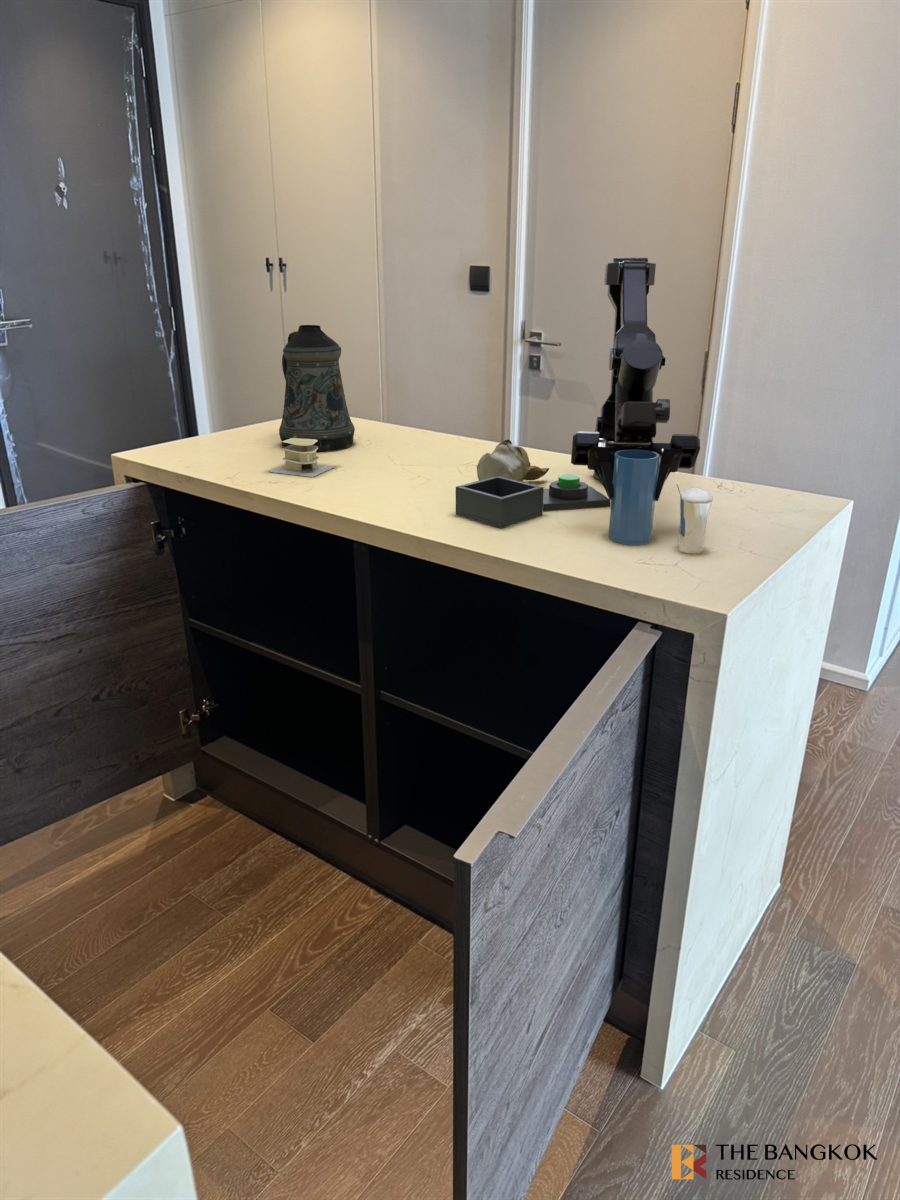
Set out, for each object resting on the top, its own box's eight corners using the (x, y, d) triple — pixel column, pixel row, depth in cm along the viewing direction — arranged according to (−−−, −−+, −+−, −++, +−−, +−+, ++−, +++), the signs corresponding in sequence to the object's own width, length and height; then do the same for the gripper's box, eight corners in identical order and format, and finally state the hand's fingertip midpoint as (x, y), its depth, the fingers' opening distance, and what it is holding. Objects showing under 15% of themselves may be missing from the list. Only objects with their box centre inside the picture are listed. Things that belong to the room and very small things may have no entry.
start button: (574, 483, 151) (575, 473, 150) (582, 489, 148) (582, 479, 147) (555, 484, 150) (555, 475, 149) (562, 490, 147) (563, 480, 146)
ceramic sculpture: (462, 440, 154) (506, 431, 166) (459, 487, 157) (503, 475, 169) (513, 448, 148) (554, 438, 160) (509, 497, 151) (550, 484, 163)
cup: (639, 530, 135) (647, 448, 130) (658, 543, 129) (667, 458, 124) (601, 533, 134) (608, 450, 129) (618, 546, 128) (626, 460, 123)
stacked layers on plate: (268, 472, 168) (266, 444, 166) (293, 462, 176) (291, 435, 174) (313, 477, 165) (311, 448, 162) (336, 466, 172) (334, 439, 170)
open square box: (497, 502, 149) (497, 475, 147) (542, 515, 142) (543, 487, 141) (455, 514, 142) (455, 486, 141) (501, 528, 136) (501, 499, 134)
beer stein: (329, 455, 181) (322, 331, 171) (253, 446, 188) (243, 327, 179) (369, 440, 195) (365, 324, 185) (297, 432, 202) (290, 321, 193)
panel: (590, 492, 155) (591, 476, 154) (610, 506, 147) (611, 489, 146) (526, 496, 153) (527, 480, 152) (543, 511, 145) (544, 493, 143)
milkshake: (664, 545, 128) (671, 480, 125) (699, 544, 129) (707, 479, 125) (674, 555, 124) (682, 488, 120) (710, 554, 125) (719, 487, 121)
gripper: (576, 377, 127) (573, 468, 121) (705, 379, 125) (709, 473, 119) (572, 420, 137) (569, 506, 132) (691, 423, 136) (694, 511, 130)
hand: (633, 498), depth 128 cm, fingers closed on cup, 6 cm apart
